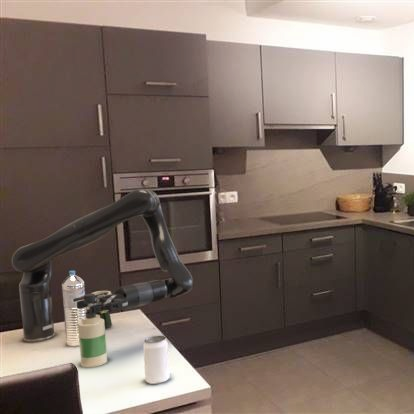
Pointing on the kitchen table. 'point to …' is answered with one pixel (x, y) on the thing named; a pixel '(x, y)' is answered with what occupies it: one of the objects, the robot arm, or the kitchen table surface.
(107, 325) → the character mug
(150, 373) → the can
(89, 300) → the pump head
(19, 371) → the kitchen table surface
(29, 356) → the kitchen table surface
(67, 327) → the water bottle
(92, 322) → the dispenser
